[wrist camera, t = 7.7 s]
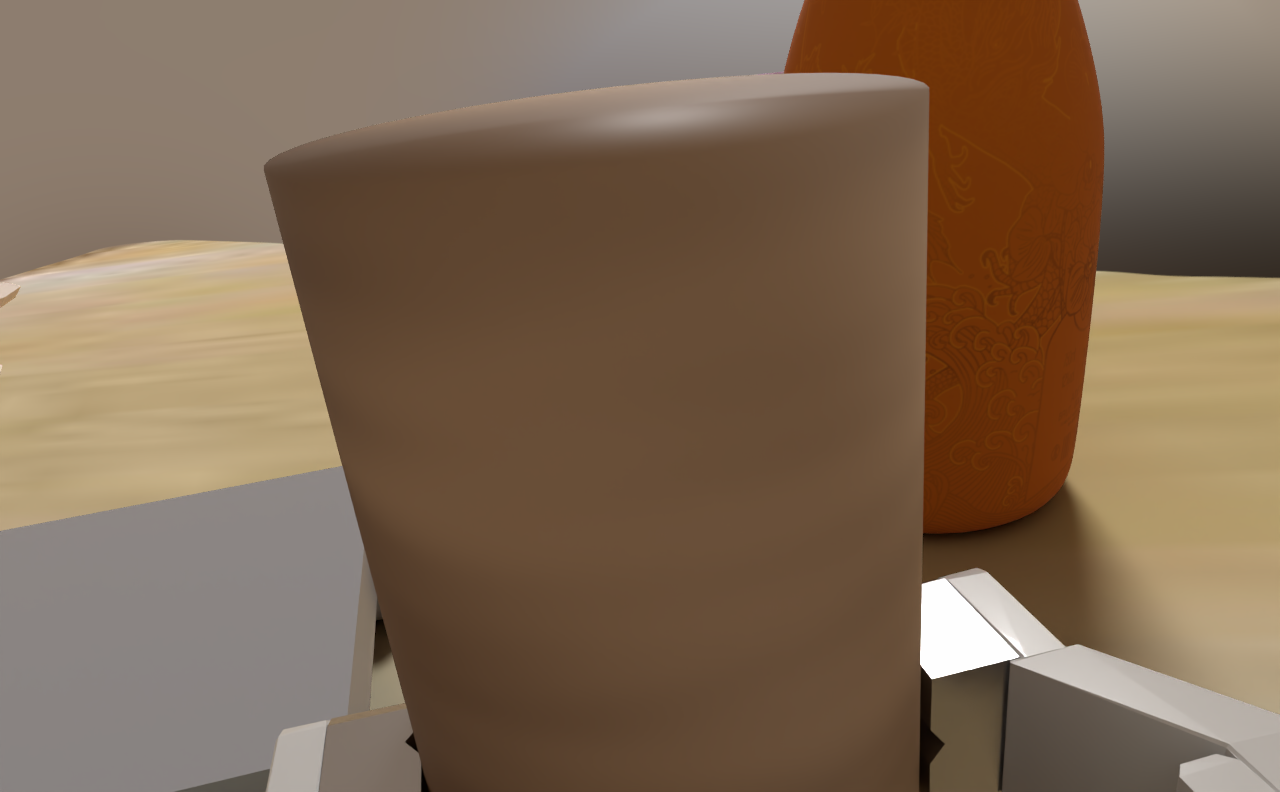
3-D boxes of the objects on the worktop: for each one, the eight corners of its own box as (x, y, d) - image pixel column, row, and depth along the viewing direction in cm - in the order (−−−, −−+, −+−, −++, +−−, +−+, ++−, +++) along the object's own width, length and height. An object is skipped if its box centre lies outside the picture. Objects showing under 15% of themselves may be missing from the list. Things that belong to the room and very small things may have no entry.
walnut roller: (996, 1213, 12) (1085, 74, 6) (679, 1551, 10) (395, 225, 4) (751, 927, 16) (677, 72, 10) (485, 1118, 14) (208, 149, 8)
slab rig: (412, 891, 19) (370, 744, 18) (-295, 1079, 17) (-414, 931, 16) (413, 563, 31) (388, 457, 30) (-6, 650, 29) (-57, 542, 27)
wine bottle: (806, 412, 39) (769, -526, 27) (1064, 421, 35) (1150, -640, 24) (757, 538, 30) (673, -746, 18) (1090, 566, 27) (1246, -971, 15)
